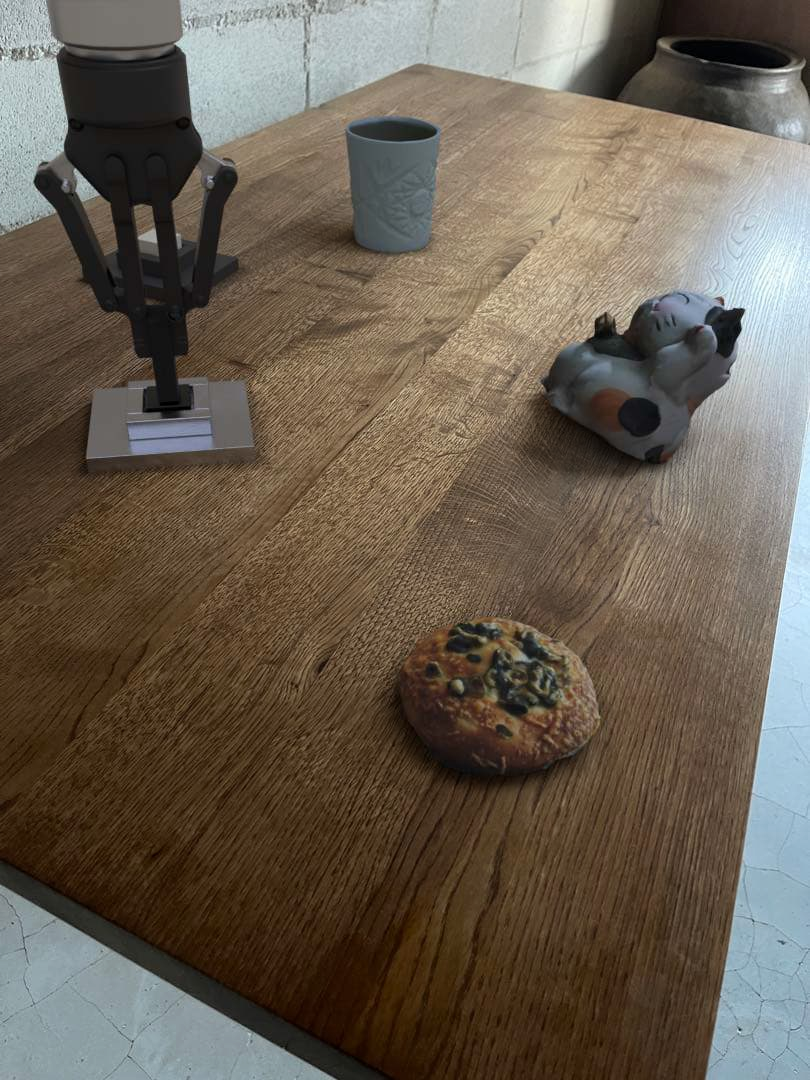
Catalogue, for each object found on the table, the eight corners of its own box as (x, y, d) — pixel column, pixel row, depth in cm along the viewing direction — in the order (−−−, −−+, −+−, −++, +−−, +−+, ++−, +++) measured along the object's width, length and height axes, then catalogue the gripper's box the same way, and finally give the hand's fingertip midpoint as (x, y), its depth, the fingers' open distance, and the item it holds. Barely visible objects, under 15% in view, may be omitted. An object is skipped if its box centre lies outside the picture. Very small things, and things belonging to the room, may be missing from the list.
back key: (136, 253, 92) (134, 238, 91) (155, 242, 94) (154, 227, 93) (163, 259, 91) (161, 244, 90) (182, 248, 93) (180, 233, 92)
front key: (148, 425, 69) (145, 407, 68) (149, 403, 72) (146, 386, 71) (192, 422, 70) (189, 404, 69) (191, 400, 72) (189, 383, 71)
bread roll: (380, 765, 47) (389, 691, 45) (410, 638, 57) (420, 571, 54) (594, 806, 47) (617, 733, 44) (589, 670, 56) (607, 603, 54)
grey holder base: (88, 474, 67) (81, 439, 65) (96, 404, 74) (90, 371, 73) (255, 461, 69) (252, 427, 67) (246, 394, 77) (243, 362, 75)
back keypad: (83, 281, 92) (78, 252, 91) (143, 248, 100) (139, 221, 98) (184, 306, 89) (181, 277, 87) (239, 270, 96) (237, 242, 94)
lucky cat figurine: (541, 373, 81) (636, 231, 76) (655, 447, 81) (758, 312, 76) (524, 411, 68) (638, 242, 62) (660, 500, 68) (787, 340, 62)
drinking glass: (435, 257, 101) (442, 143, 93) (343, 254, 101) (343, 139, 93) (432, 224, 109) (439, 116, 101) (347, 221, 109) (347, 112, 101)
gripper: (227, 32, 59) (251, 364, 73) (12, 31, 56) (82, 374, 71) (234, 59, 53) (259, 412, 68) (-5, 59, 51) (75, 425, 65)
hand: (168, 392), depth 69 cm, fingers closed
